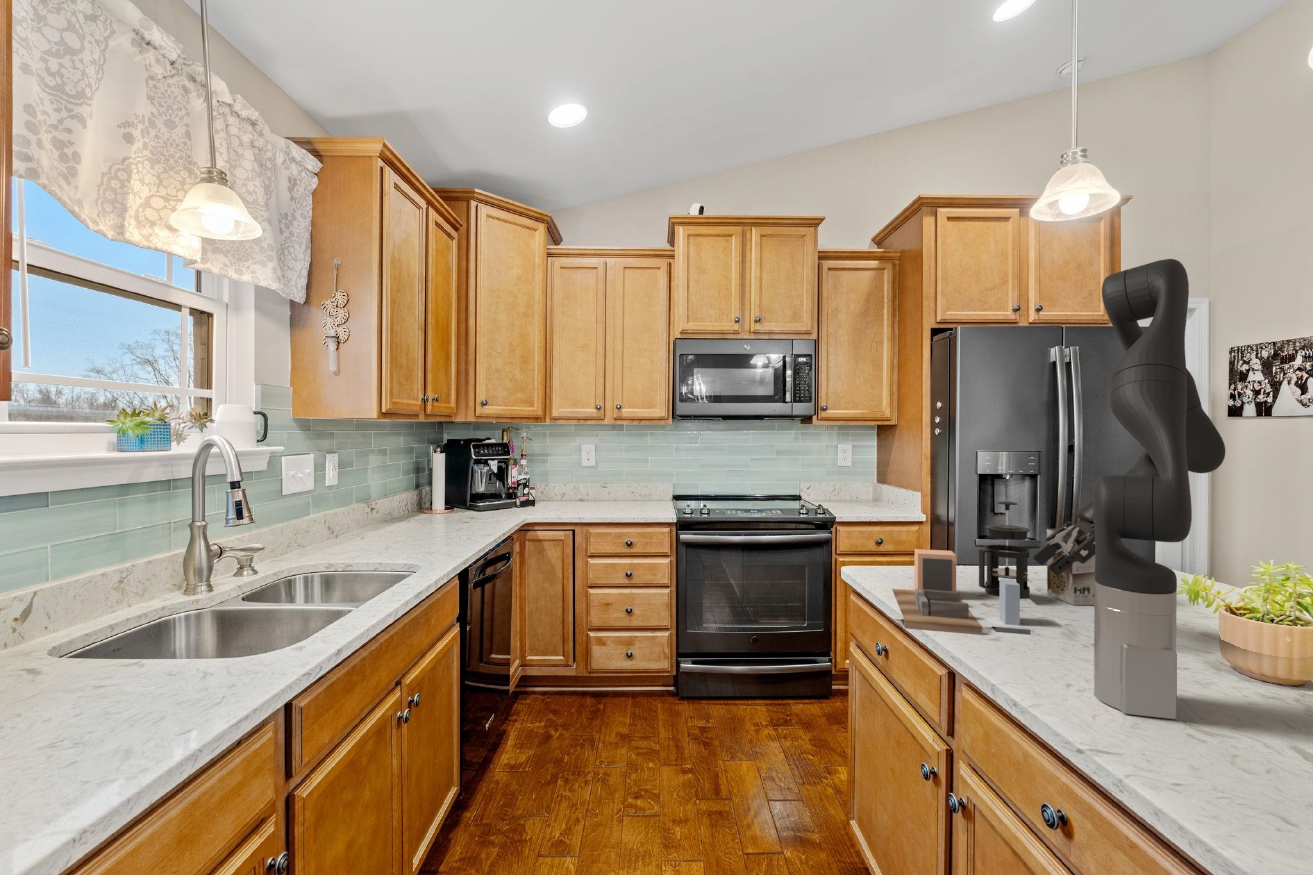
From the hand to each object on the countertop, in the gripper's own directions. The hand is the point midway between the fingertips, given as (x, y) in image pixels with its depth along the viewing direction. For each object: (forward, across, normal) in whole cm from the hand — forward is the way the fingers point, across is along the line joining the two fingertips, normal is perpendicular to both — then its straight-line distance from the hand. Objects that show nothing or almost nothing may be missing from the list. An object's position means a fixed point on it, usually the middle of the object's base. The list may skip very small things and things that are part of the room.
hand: (1043, 566), depth 113 cm
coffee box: (0, -26, +19) cm, 32 cm away
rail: (+23, -7, -4) cm, 24 cm away
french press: (+10, -22, +8) cm, 25 cm away
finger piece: (+14, 0, +5) cm, 14 cm away
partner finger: (+20, -16, -4) cm, 26 cm away
